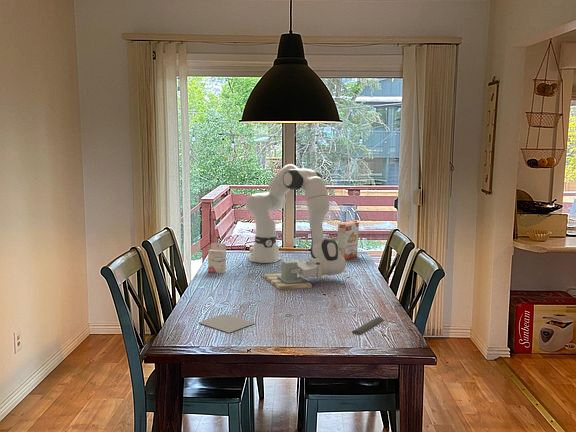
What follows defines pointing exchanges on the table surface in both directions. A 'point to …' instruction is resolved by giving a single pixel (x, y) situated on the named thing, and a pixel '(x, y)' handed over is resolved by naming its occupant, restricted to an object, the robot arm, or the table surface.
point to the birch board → (282, 286)
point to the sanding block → (288, 272)
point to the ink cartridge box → (217, 258)
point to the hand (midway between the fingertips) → (287, 269)
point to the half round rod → (368, 326)
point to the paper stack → (226, 323)
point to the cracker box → (348, 239)
